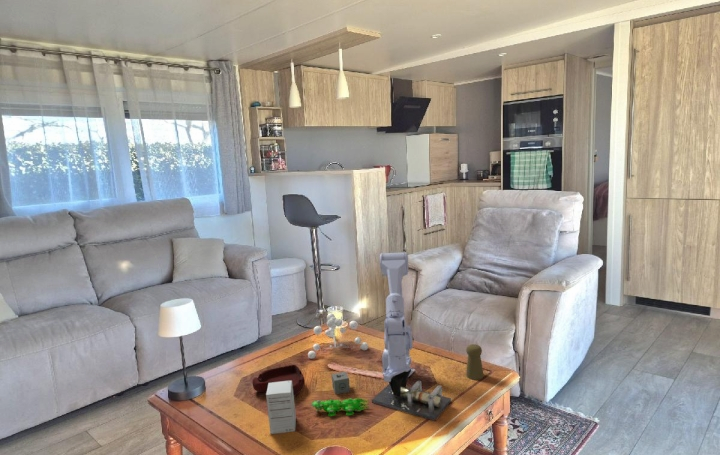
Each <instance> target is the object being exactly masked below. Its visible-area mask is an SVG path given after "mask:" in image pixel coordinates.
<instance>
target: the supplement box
mask: <svg viewBox="0 0 720 455" xmlns="http://www.w3.org/2000/svg"><path fill="white" fill-rule="evenodd" d="M265 397H266V405H267V415H268V424H269V433H270V434H272V435H273V434H283V433H291V432H295V431H296V423H297V422H296V421H297V415H296V405H295V396H294V394H293V385H292V381H281V382H272V383H268V388H267V392H265Z"/></svg>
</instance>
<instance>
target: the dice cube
mask: <svg viewBox="0 0 720 455" xmlns="http://www.w3.org/2000/svg"><path fill="white" fill-rule="evenodd" d="M331 383H332V389H333V392H334V394H335V395H340V394H345V393H349V392H351V389H350V388H351V387H350V386H351V385H350V377H349V375H348V373H347V372H346V371H341V372H337V373H336V372H335V373H331Z"/></svg>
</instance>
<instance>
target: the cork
mask: <svg viewBox="0 0 720 455" xmlns="http://www.w3.org/2000/svg"><path fill="white" fill-rule="evenodd" d="M482 352H483V350H482V347H481V345H478V344H475V343H473V344H469V345H468V346H467V347H466V354H467V361H466V362H467V363H466V370H465V371H466V372H465V376H466V378H467V379H469V380H473V381H478V380H482V379H483V378H485V375H484V369H483V363H482V356H481V355H482V354H483V353H482Z"/></svg>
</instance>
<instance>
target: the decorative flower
mask: <svg viewBox="0 0 720 455" xmlns="http://www.w3.org/2000/svg"><path fill="white" fill-rule="evenodd" d="M325 321H326V327H327V328H328V329H325V331H323V328H322V327H321V326H320V325H317V326H315V327H313V332H314V334H315V335H316V336H319V335H322V332H323V333H324V334H325V336H327V340H328V339H329V338H332V339H329V340H330V342H331V344H330V342H329V343H328V342H327V345H329V348H332V349H336V348H338V349H339V348H343V344H344V345H347V344H348V346H345V348H350V347H351V344H352V343H355V344H353V346H355V345H359V344H360V345H359V348H360V350H362V351H366V350H368V349H369V345H368V343H367V342H362V339H361V338H360V336H362V334H361V335H360V336H356V338H354V342H353V341H352V342H351V344H350V345H349V340H350V338H347V341H345V342H344V341H343V343H338V342H337V340H336V337H339V339H342V337H341V336H343V334H346V331H347V329H346V328H345V326H346V323H347V322H346V321H345V324H344V327H342V324H343V319H341V318H336V316H335V314H334V313H333V312H331V313H328V314H327V315H326V320H325ZM358 325H359V324H358V322H357V321H356V320H351V321H349V323H348V325H347V327H349V328H350V329H349V331H348V332H350V330H356V329H357V328H358ZM337 327H340V330H339V332H337V334H336V328H337ZM359 332H361V329H360V330H359ZM338 333H339V335H340V333H341V335H340V336H338ZM356 334H358V332H356V333H355V335H356ZM345 337H346V336H345ZM345 337H343V339H345ZM352 337H354V335H353V336H351V338H352ZM315 340H316V341H319V342H320V340H318V339H316V338H315ZM323 341H324V342H326V340H324V339H323ZM311 343H312V344H313V346H312V348H313V350H310V351H308V353H307V357H308V359H310V360H313V359H315V358H316V356H317V353H316V352H315V351H319V350H320V348H322V349H323V348H324V347H321V346H322V344H319V343H314V342H311ZM349 346H350V347H349ZM323 350H324V351H327V349H326V348H324V349H323ZM321 353H322V351H321V352H319V354H321Z"/></svg>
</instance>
